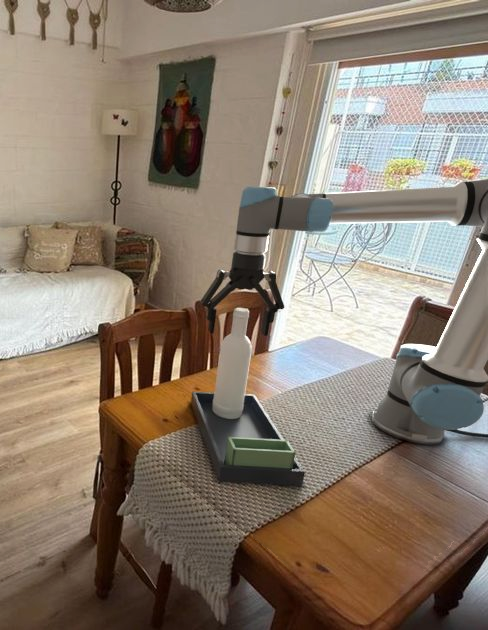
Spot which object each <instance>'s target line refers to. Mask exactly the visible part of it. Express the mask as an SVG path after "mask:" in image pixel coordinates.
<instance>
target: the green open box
mask: <svg viewBox="0 0 488 630" xmlns="http://www.w3.org/2000/svg"><path fill="white" fill-rule="evenodd" d="M295 457H296V451H295V449H294V448H293V446H292V445H291V443H290V442H289V440H288V439H284V440H278V439H259V438H240V437H228V439H227V445H226V452H225V459H224V464H225V465H233V466H251V467H268V468H285V469H292V467H293V462H294V458H295Z"/></svg>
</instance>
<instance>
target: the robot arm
mask: <svg viewBox="0 0 488 630" xmlns="http://www.w3.org/2000/svg"><path fill="white" fill-rule="evenodd" d="M240 197H241V198H240V203H239V207H238V215H237V223H236V232H235V239H234V246H233V250H234V252H233V253H232V259H231V265H230V270H229V271H227V270H225V271H224V270H222V269H218V270H217V271H216V276H215V278H214V280H213V281H212V283H211V284H210V285H209V287H208V289H207V290H206V291H205V293H204V295H203V296H202V298H201V299H200V304H201V305H202V306H203V307H205V308H206V314H205V318H206V320H207V321H208V329H207V330H208V332H209V333H210V334H215V333H214V332H215V326H216V318H217V311H218V310H217V308H216V307H217V306H218V305H219V304H220V303H221V302H222V301H223V300H224V299H226V298H227V296H229V295H230V294H231V293H232V292H234V291H235V290H236V289H238V290H240V291H242V290H247V291H252V290H255V291H256V292H257V294H258V295H259V296H260V297H261V299H262V301H263V302H264V303H265V305H266V306H267V308H264V312H263V317H262V324H261V329H260V333H261V334H262V335H263V336H264V337H268V335H269V330H270V324H273V323H274V320H275V317H276V313H277V312H279V310H284V309H285V304H284V301H283V299H282V295H281V293H280V290H279V287H278V283H277V274H276V273H275V272H273V271H272V270H269V271H268V272H264V269H265V265H266V259H267V258H266V257H267V255H266V254H265V253H266V252H267V251H268V247H269V246H268V245H269V238H270V232H271V230H282V231H283V230H285V231H297V232H307V233H325V232H327V230H328V229H329V228H330V225H337V224H338V225H339V224H340V225H341V224H342V225H343V224H382V223H383V224H385V223H386V224H387V223H388V224H389V223H392V224H393V223H435V222H438V223H439V222H441V223H443V222H448V223H449V224H450V225H451V226H453V227H456V226H457V227H458V226H460V227H461V226H465V227H467V226H469V227H476V228H477V227H478V228H481V229H480V233H479V234H478V236H477V238H476V241H477V242H478V244H479V246H480V248H481V253H480V255H479V256H478V258H477V261H476V262H475V265H474V267H473V269H472V272H471V274H470V275H469V278H468V280H467V282H466V283H465V286H464V288H463V291H462V292H461V294H460V297H459V299H458V301H457V303H456V305H455V307H454V309H453V311H452V314H451V316H450V318H449V320H448V322H447V324H446V326H445V329H444V331H443V333H442V335H441V337H440V338H439V341H438V343H437V346H433V345H427V344H421V343H420V344H419V343H405V344H402V345H400V347H399V350H398V352H397V354H396V359H395V361H394V366H393V368H392V374H391V376H390V381H389V384H388V388H387V389H388V390H387V392H386V394H385V396H384V397H383V398H382V399H381V401H380V402H379V404H378V405H377V406H376V407H375V408H374V410H373V412H372V415H371V422H372V423H373V424H374V426H376V427H377V428H378V429H379V430H381V431H382V432H384V433H386V434H387V435H389V436H392V437H394V438H397V439H399V440H401V441H405V442H410V443H411V444H412V443H413V444H419V445H437V444H439V443H441V442H442V441H443V439H444V437H445V436H444V435H445V431H446V432H450V433H455V434H458V435H463V436H469V437H477V438H487V439H488V433H481V432H480V433H479V432H473V431H465V430H461V429H463V428H464V429H465V428H468V427H471V426H472V425H474V424H476V423H477V422H478V421H479V420H480V419H481V418H482V416H483V414H484V411H485V405H484V400H483V398H482V397H481V395H482V392H483V390H484V389H485V387H486V385H487V383H488V374H487V373H486V371H485V369H484V368H485V366H486V364H487V362H488V178H487V179H479V180H469V181H468V180H467V181H459V182H457V183H456V184H454V185H453V186H445V187H443V186H442V187H441V186H440V187H426V188H425V187H424V188H402V189H385V190H383V189H382V190H363V191H345V192H344V191H342V192H325V193H308V194H307V193H304V192H303V193H296V194H294V195H291V196H281V195H278V194H277V189H276V187H273V186H272V187H271V186H247V187H245V188H244V189H243V190H242V192H241V196H240ZM227 278H229V281H228V282H227V283H226V284H225V286H224V287H223V288H222V289H221V290H220V291H219V292H217V291H218V290H219V288H220V287H221V286H222V284H223V281H225V280H226V279H227ZM264 279H265V281H266V282H267V284H268V287H269V289H270V293H271V295H272V297H273V300H274V302H273V301H272V300H271V298H270V297H269V296H268V294H267V293H266V291H265V290H264V288H263V286H262V285H261V282H262V281H264ZM216 293H217V294H216Z"/></svg>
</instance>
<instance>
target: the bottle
mask: <svg viewBox="0 0 488 630" xmlns="http://www.w3.org/2000/svg"><path fill="white" fill-rule="evenodd" d="M249 318H250V310H249V309H248V308H246V307H245V308H244V307H235V308H234V309H233V312H232V324H231V329H230V333H229V334H227V335H226V336H224V338H223V340H222V341H221V344H220V348H219V356H218V363H217V371H216V379H215V386H214V392H213V393H214V398H213V407H212V410H213V412H214V413H215V414H216V415H218V416H220V417H222V418H226V419H237V418H239V417H240V416H241V415H242V411H243V403H244V397H245V394H246V391H247V385H248V377H249V371H250V364H251V359H252V352H253V347H252V343H251V340H250V339H249V337H248V336H247V330H248V329H247V328H248V322H249Z"/></svg>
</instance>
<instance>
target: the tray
mask: <svg viewBox="0 0 488 630" xmlns="http://www.w3.org/2000/svg"><path fill="white" fill-rule="evenodd" d="M190 398H191V399H190V404H191V407H192V410H193V414H194V417H195V419H196V421H197V424H198V427H199V429H200V430H199V431H200V432H201V435H202V438H203V441H204V443H205V446H206V449H207V452H208V455H209V458H210V460H211V463H212V466H213V468H214V472H215V474H216V476H217V479H218V482H225V483H226V482H228V483H240V484H241V483H243V484H258V485H276V486H288V487H289V486H291V487H292V486H293V487H303V483H304V478H305V474H306V471H305V470H304V468H303V466H302V465H301V463H300V462H299V460H298V459H297V457H296V456H295V458H294V462H293V467H292V469H285V468H268V467H251V466H233V465H225V464H224V459H225V452H226V445H227V439H228V437H240V438H259V439H278V440H285V439H284V437H283V436H282V434H281V433H280V431H279V430H278V428H277V427H276V425H275V424H274V422H273V420H272V419H271V418H270V416H269V414H268V413H267V411H266V410H265V408H264V406H263V405H262V403H261V402H260V400H259V399H258V398H257V396H256V394H255V393H253V394H251V393H248V394H247V393H245V397H244V403H243V411H242V415H241V416H240V417H239V418H237V419H226V418H222V417H220V416H218V415H216V414H215V413H214V412H213V410H212V407H213V398H214V392H207V391H192V392H191V397H190Z"/></svg>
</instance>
